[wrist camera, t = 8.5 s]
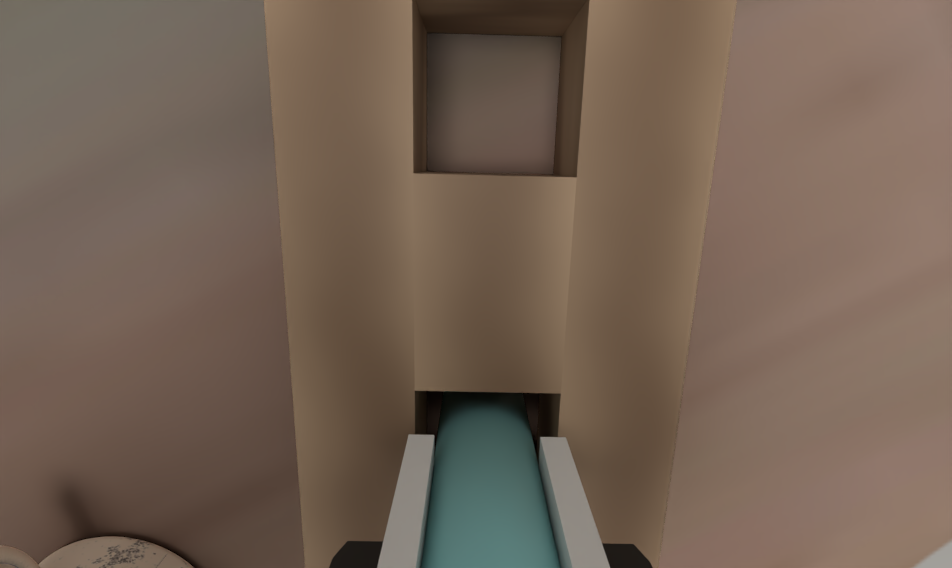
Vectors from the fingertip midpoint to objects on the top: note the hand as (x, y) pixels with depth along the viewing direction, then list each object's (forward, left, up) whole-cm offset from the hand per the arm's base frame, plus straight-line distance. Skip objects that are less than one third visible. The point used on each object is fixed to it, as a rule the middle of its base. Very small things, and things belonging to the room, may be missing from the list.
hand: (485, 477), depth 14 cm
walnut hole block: (0, +5, -5) cm, 7 cm away
